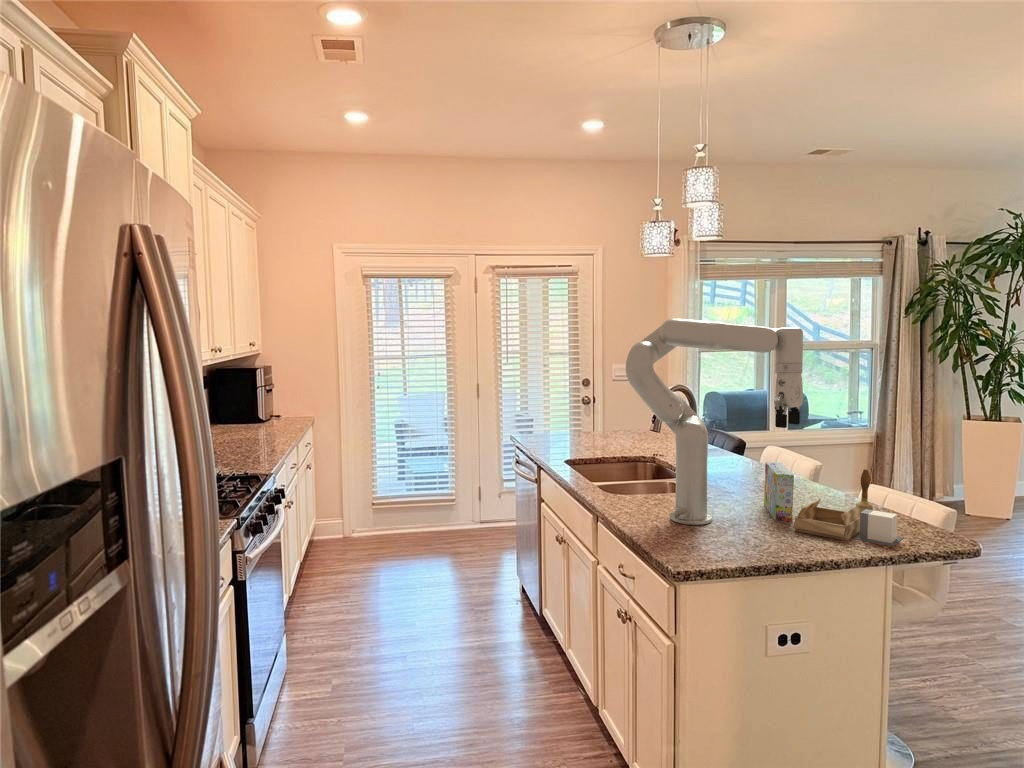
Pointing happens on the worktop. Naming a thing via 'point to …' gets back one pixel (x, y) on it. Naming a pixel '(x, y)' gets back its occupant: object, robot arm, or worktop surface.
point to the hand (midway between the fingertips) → (787, 425)
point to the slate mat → (879, 541)
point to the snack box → (778, 491)
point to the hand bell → (865, 492)
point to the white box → (878, 526)
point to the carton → (828, 521)
